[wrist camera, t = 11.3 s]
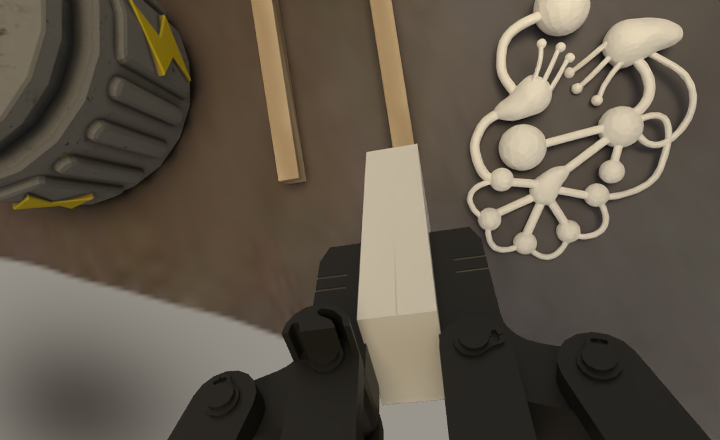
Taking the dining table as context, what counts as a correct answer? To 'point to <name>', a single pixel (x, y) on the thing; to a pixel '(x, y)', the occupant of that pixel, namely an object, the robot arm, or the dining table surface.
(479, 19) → the dining table surface
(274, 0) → the birch chute
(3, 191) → the decorative lamp
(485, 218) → the tangled rod sculpture
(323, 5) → the dining table surface
